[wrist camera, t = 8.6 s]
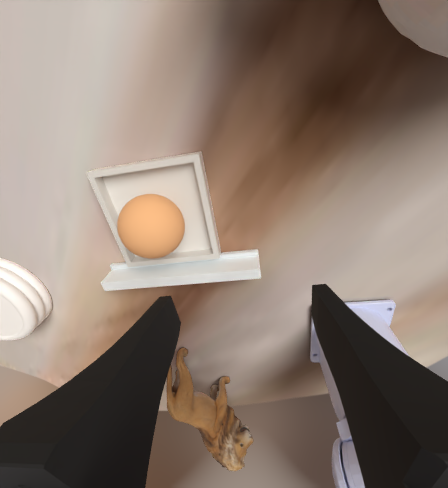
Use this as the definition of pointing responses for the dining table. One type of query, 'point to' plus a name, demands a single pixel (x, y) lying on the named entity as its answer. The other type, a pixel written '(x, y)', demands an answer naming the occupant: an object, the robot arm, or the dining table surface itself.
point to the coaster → (21, 301)
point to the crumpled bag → (420, 22)
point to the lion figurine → (208, 416)
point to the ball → (151, 226)
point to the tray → (170, 186)
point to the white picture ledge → (185, 272)
